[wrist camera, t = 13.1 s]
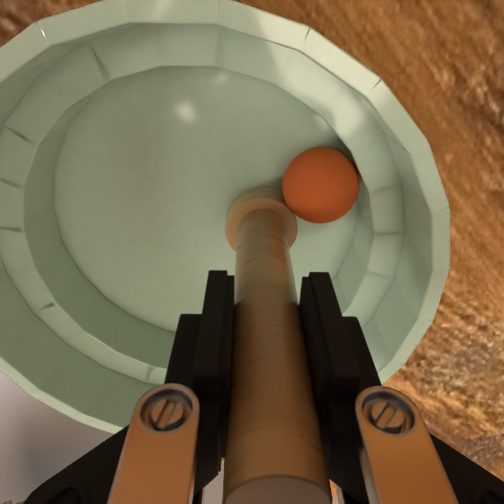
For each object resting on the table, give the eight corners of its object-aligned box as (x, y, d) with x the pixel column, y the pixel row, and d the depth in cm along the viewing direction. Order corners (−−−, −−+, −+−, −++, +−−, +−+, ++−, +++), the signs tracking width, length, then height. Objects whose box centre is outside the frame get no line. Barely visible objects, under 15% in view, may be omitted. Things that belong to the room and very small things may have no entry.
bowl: (64, 350, 23) (10, 446, 18) (-40, -2, 14) (-202, -14, 9) (361, 353, 23) (393, 449, 18) (434, 7, 15) (535, 1, 10)
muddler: (226, 247, 18) (197, 548, 8) (226, 185, 17) (189, 456, 6) (292, 249, 18) (348, 548, 8) (297, 187, 17) (374, 458, 6)
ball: (307, 217, 14) (375, 163, 14) (259, 165, 15) (321, 116, 15) (319, 249, 17) (376, 204, 17) (277, 202, 18) (330, 161, 18)
